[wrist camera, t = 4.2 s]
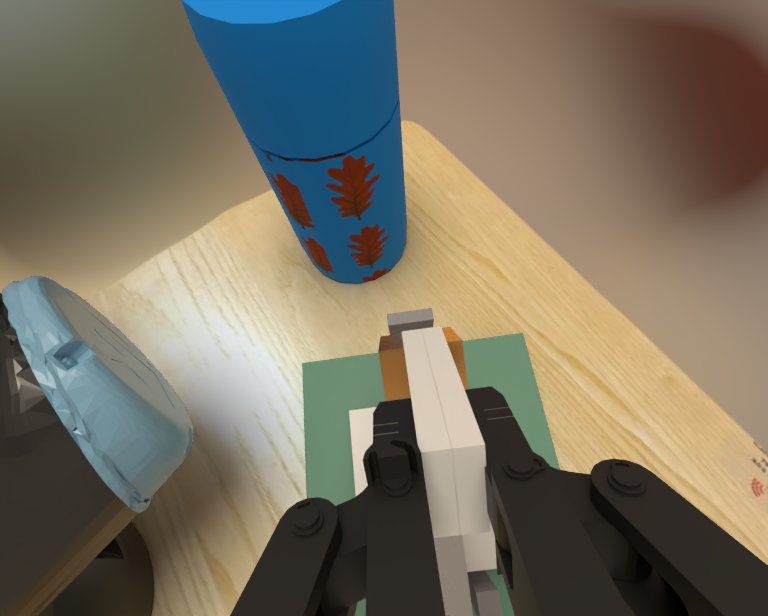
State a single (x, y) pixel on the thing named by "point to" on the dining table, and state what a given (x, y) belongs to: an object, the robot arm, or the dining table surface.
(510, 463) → the robot arm
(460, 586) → the grey and orange bar
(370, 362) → the lever on green base
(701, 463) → the dining table surface
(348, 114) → the thermos
